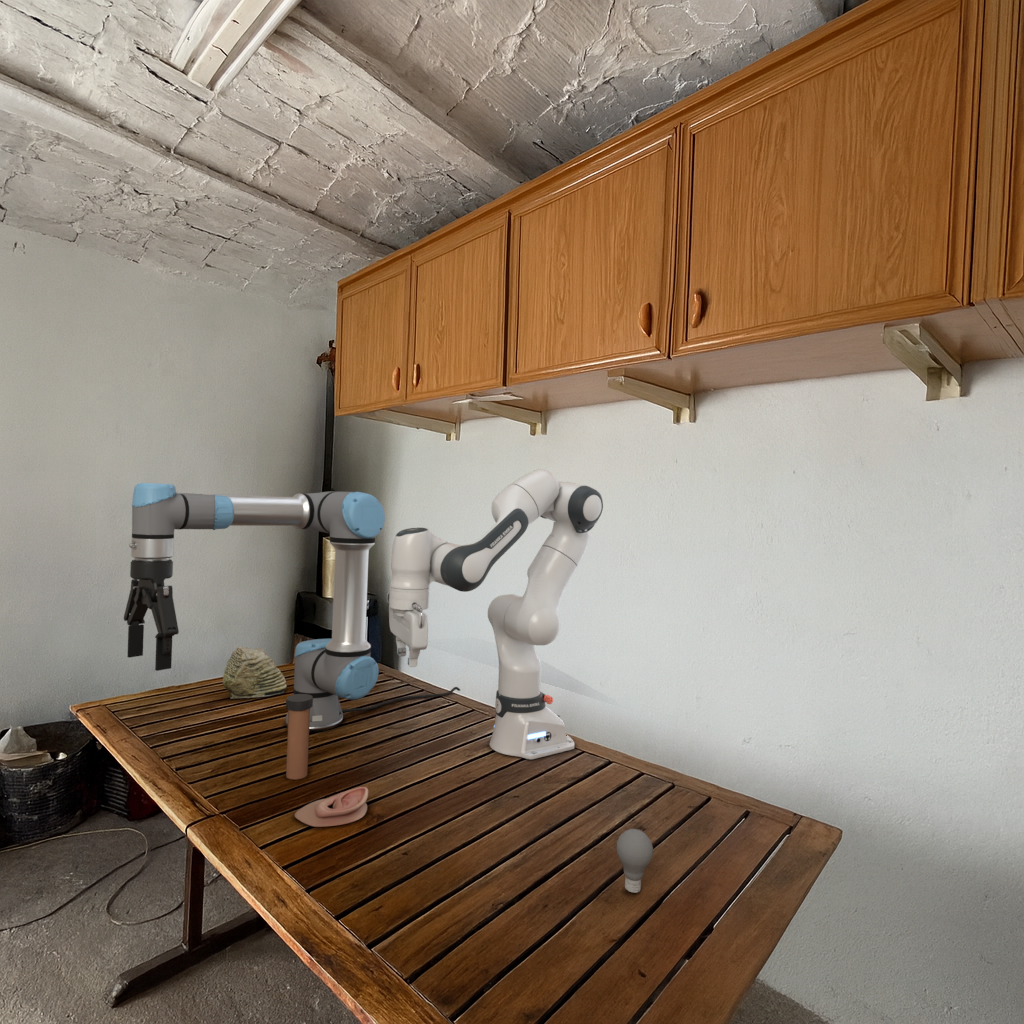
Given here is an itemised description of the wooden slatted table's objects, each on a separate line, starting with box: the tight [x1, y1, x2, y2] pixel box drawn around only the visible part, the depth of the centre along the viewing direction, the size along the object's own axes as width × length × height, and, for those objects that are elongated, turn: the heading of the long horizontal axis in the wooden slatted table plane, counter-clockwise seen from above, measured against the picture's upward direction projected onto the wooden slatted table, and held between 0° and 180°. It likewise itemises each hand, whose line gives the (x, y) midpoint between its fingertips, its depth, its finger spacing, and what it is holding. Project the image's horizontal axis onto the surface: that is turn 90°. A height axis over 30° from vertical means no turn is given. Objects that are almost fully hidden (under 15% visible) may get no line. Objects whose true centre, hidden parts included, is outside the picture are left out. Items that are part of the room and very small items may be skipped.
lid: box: [285, 694, 313, 711], centre depth 143 cm, size 6×6×2 cm
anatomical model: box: [294, 786, 369, 828], centre depth 127 cm, size 13×4×12 cm
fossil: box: [222, 646, 288, 699], centre depth 198 cm, size 9×18×15 cm, turn 132°
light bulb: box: [615, 828, 654, 894], centre depth 106 cm, size 6×6×10 cm
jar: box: [285, 709, 310, 780], centre depth 143 cm, size 5×5×17 cm
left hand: (148, 662), depth 129 cm, fingers open, 13 cm apart
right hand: (406, 660), depth 143 cm, fingers open, 8 cm apart
